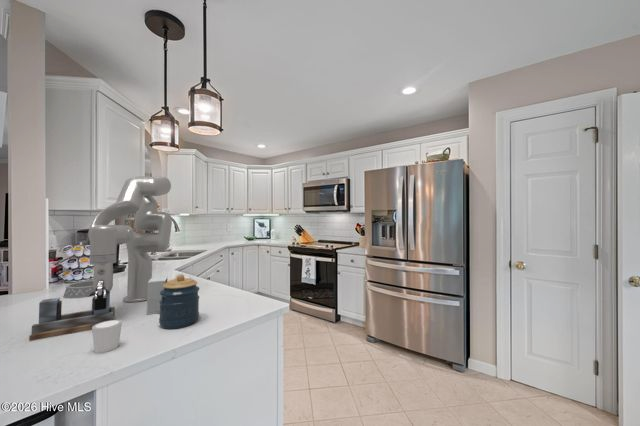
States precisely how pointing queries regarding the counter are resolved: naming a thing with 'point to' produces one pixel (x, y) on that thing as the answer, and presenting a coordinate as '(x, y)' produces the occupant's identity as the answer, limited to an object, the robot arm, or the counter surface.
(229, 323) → the counter surface
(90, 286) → the dog bowl
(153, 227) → the robot arm
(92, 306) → the blue-grey block
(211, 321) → the counter surface
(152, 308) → the small box
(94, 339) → the white cup
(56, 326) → the rail
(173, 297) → the canister
